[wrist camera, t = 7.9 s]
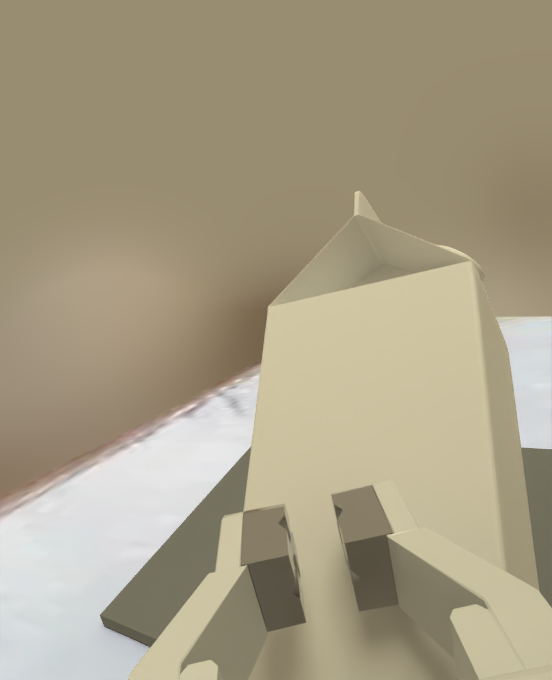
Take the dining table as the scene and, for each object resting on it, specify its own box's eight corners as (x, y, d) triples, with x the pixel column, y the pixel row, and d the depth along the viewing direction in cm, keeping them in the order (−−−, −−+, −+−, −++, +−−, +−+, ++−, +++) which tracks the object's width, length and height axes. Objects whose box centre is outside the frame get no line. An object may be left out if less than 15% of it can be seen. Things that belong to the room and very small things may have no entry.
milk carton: (194, 883, 9) (276, 221, 16) (335, 755, 14) (351, 296, 21) (576, 1233, 5) (463, 150, 12) (578, 878, 10) (498, 265, 17)
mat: (265, 439, 37) (263, 432, 37) (619, 464, 25) (619, 453, 24) (104, 626, 22) (99, 615, 21) (858, 962, 9) (864, 943, 9)
